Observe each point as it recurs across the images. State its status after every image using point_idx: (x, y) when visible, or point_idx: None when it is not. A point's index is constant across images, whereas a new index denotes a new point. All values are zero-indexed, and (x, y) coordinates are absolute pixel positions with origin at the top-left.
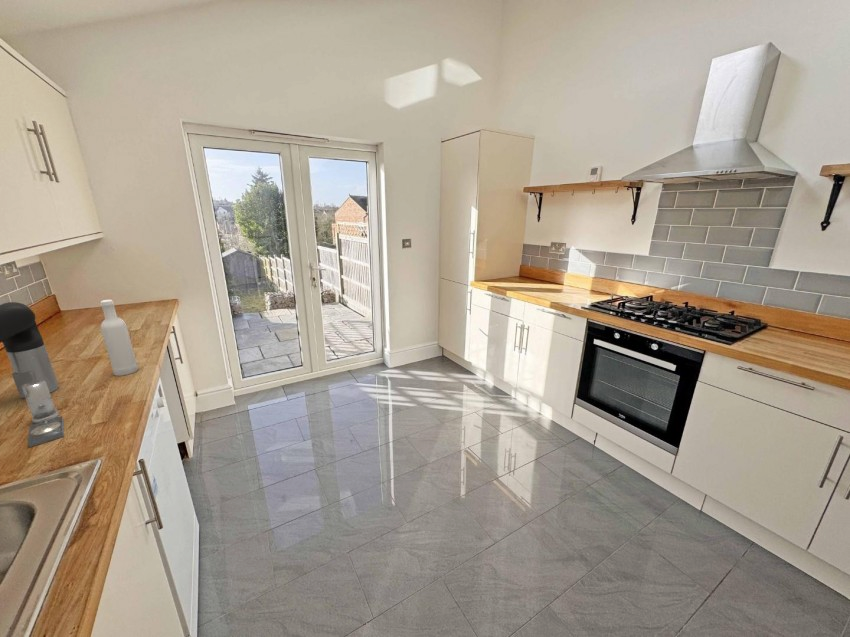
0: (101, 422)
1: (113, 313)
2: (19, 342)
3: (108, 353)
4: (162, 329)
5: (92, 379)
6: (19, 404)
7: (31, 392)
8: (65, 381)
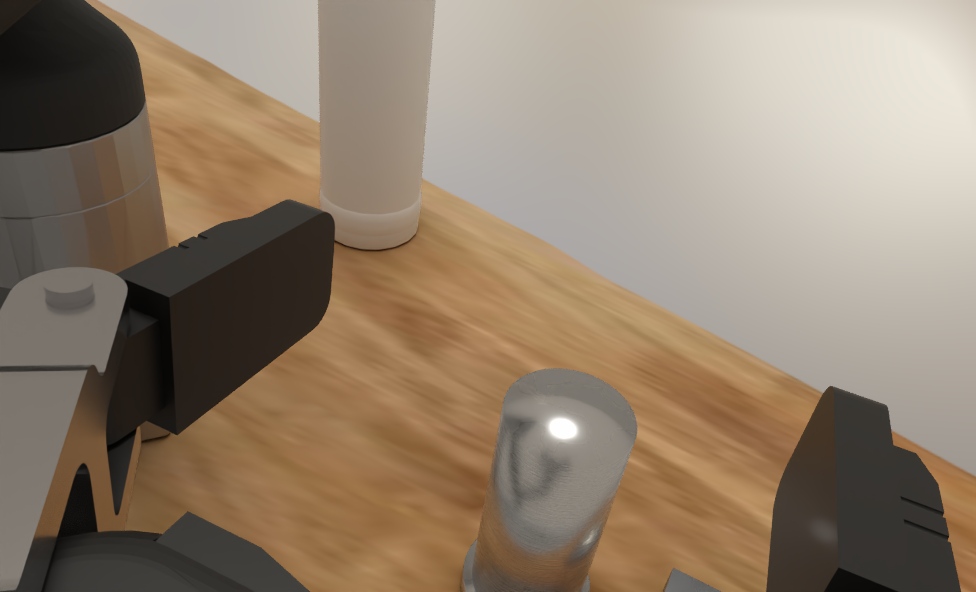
0: None
1: None
2: (59, 59)
3: (352, 134)
4: (104, 11)
5: None
6: None
7: (615, 485)
8: None
